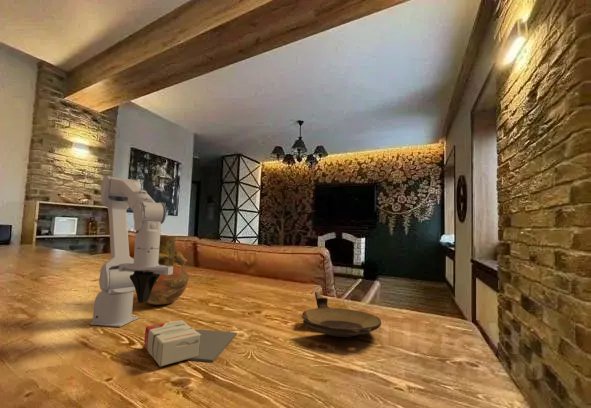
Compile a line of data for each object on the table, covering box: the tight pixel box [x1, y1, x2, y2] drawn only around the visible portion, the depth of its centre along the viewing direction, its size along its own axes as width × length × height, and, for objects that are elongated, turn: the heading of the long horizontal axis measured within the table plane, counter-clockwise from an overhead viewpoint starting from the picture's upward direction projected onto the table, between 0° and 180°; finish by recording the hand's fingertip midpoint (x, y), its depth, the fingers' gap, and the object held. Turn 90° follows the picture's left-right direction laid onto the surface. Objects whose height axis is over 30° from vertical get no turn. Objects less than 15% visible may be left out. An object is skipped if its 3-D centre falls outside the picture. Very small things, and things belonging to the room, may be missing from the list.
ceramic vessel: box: [135, 234, 190, 306], centre depth 106 cm, size 17×26×25 cm, turn 172°
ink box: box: [143, 319, 201, 367], centre depth 65 cm, size 8×5×12 cm
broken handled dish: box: [301, 290, 382, 338], centre depth 84 cm, size 22×30×8 cm
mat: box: [185, 328, 238, 363], centre depth 70 cm, size 14×16×1 cm
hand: (143, 301), depth 73 cm, fingers closed
